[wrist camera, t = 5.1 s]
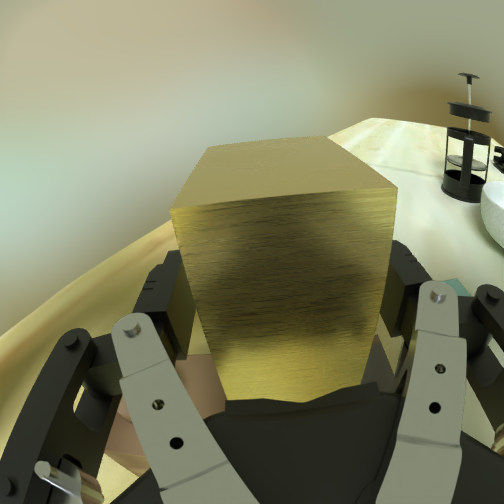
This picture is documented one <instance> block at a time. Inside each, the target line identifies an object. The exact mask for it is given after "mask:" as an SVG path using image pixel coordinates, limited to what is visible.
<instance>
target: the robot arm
mask: <svg viewBox="0 0 504 504" xmlns="http://www.w3.org/2000/svg"><path fill="white" fill-rule="evenodd" d="M145 282H146V283H145V284H144V286H143V288H142V291H141V293H140V295H139V297H138V300H137V302H136V304H135V307H134V309H133V312H132V314H129V315H126V316H124V317H122V318H121V319H119V320H118V321H117V322H116V323H115V325H114V326H113V328H112V332H111V333H110V334H106V335H103V336H99V337H95V338H92V337H91V336H90V334H89V333H88V331H87V330H85V329H82V328H76V329H72V330H70V331H68V332H66V333H65V334H64V335H63V336H62V337H61V338H60V339H59V340H58V342H57V344H56V345H55V347H54V349H53V351H52V352H51V354H50V356H49V358H48V359H47V361H46V363H45V365H44V367H43V368H42V370H41V372H40V374H39V376H38V378H37V380H36V382H35V383H34V385H33V387H32V389H31V391H30V393H29V395H28V397H27V399H26V401H25V403H24V406H23V408H22V410H21V412H20V414H19V416H18V418H17V421H16V423H15V425H14V428H13V430H12V432H11V435H10V437H9V439H8V442H7V444H6V447H5V449H4V452H3V455H2V457H1V460H0V504H103V502H104V496H103V494H102V491H101V487H100V484H99V483H98V481H97V480H96V478H97V475H98V471H99V468H100V464H101V461H102V457H103V454H104V451H105V447H106V444H107V441H108V437H109V434H110V431H111V428H112V425H113V422H114V419H115V416H116V413H117V410H118V407H119V404H120V401H121V398H122V395H123V396H124V399H125V402H126V405H127V408H128V411H129V414H130V417H131V420H132V422H133V425H134V428H135V431H136V433H137V436H138V438H139V441H140V443H141V446H142V448H143V451H144V453H145V456H146V458H147V460H148V462H149V465H150V468H149V469H148V470H147V471H146V472H145V473H143V474H142V475H141V476H140V477H139V478H138V479H137V480H136V481H135V482H134V483H133V484H131V485H130V486H129V487H128V488H127V489H126V490H125V491H124V492H123V493H121V494H120V495H119V496H118V497H117V498H116V499H114V500H113V501H112V502H111V503H110V504H504V368H503V367H502V366H501V364H500V363H499V361H498V359H497V358H496V356H495V355H494V353H493V352H492V351H491V349H490V348H489V346H488V344H489V342H490V340H491V339H492V337H493V338H494V339H495V340H496V342H497V343H498V345H499V346H500V348H501V349H502V350H503V352H504V292H503V291H502V290H501V289H499V288H498V287H496V286H493V285H488V284H485V285H481V286H479V287H478V288H477V291H476V293H475V296H474V297H471V296H457V293H456V292H455V290H454V289H453V288H452V287H451V286H449V285H448V284H446V283H444V282H441V281H434V280H432V278H431V277H430V276H429V274H428V273H427V272H426V270H425V269H424V268H423V267H422V265H421V264H420V263H419V262H417V259H416V258H415V257H414V255H412V253H411V252H410V250H409V249H408V248H407V247H406V246H405V245H403V244H402V243H400V242H398V241H397V240H392V246H391V252H390V259H389V265H388V271H387V277H386V282H385V287H384V293H383V298H382V302H381V307H380V312H379V313H380V315H381V317H382V319H383V321H384V323H385V325H386V327H387V330H388V332H389V334H390V336H391V338H392V337H396V336H401V335H402V337H403V339H404V340H403V343H402V346H401V351H400V355H399V360H398V364H397V369H396V373H395V377H394V381H393V385H392V388H391V391H390V392H385V391H379V388H378V385H377V382H376V381H375V382H370V383H366V384H361V385H356V386H351V387H345V388H341V389H338V390H336V391H333V392H331V393H328V394H326V395H323V396H321V397H318V398H316V399H313V400H310V401H307V402H291V401H282V400H274V399H266V398H258V399H243V400H225V411H222V412H218V413H216V414H213V415H210V416H208V417H206V418H204V419H202V418H201V416H200V414H199V413H198V411H197V409H196V407H195V406H194V404H193V402H192V400H191V399H190V397H189V395H188V393H187V391H186V389H185V388H184V386H183V384H182V382H181V380H180V378H179V376H178V374H177V372H176V370H175V369H174V368H175V363H176V360H187V354H188V348H189V343H190V337H191V332H192V326H193V321H194V316H195V310H196V305H195V302H194V299H193V295H192V292H191V289H190V285H189V282H188V278H187V275H186V271H185V268H184V264H183V260H182V257H181V253H180V250H174V251H169V252H168V253H167V256H166V258H165V261H164V263H163V264H160V265H157V266H156V267H155V268H154V269H153V270H152V271H151V272H150V273H149V275H148V277H147V279H146V281H145ZM466 378H467V380H468V382H469V383H470V385H471V387H472V389H473V391H474V392H475V394H476V396H477V398H478V400H479V402H480V403H481V405H482V407H483V409H484V411H485V413H486V415H487V417H488V419H489V421H490V423H491V425H492V427H493V429H494V431H495V438H494V442H495V443H494V444H493V445H492V447H491V449H490V448H489V447H487V446H486V445H484V444H482V443H481V442H479V441H477V440H476V439H474V438H473V437H471V436H469V435H468V434H466V433H464V432H463V431H461V426H462V418H463V409H464V399H465V386H466ZM81 385H82V386H83V387H84V388H85V389H84V392H83V394H82V396H81V399H80V401H79V403H78V406H77V408H76V411H75V413H74V410H73V404H74V401H75V399H76V396H77V394H78V392H79V389H80V387H81Z"/></svg>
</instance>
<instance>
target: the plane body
mask: <svg viewBox="0 0 504 504" xmlns="http://www.w3.org/2000/svg"><path fill="white" fill-rule="evenodd" d="M174 369H175V370H176V372H177V374H178V376H179V378H180V380H181V382H182V384H183V386H184V388H185V389H186V391H187V393H188V395H189V397H190V399H191V400H192V402H193V404H194V406H195V407H196V409H197V411H198V413H199V414H200V416H201V418H202V419H204V418H206V417H208V416H210V415H213V414H216V413H218V412H222V411H225V400H227V397H226V394H225V392H224V389H223V386H222V383H221V381H220V378H219V375H218V372H217V369H216V366H215V364H214V361H213V358H212V355H211V354H205V355H187V360H176V363H175V368H174ZM375 381H376V382H377V385H378V388H379V391H385V392H390V391H391V388H392V385H393V381H394V374H393V371H392V369H391V366H390V364H389V361H388V359H387V356H386V354H385V351H384V349H383V346H382V344H381V342H380V339H379V337H378V335H374V337H373V341H372V345H371V349H370V352H369V356H368V360H367V363H366V367H365V370H364V373H363V377H362V380H361V383H360V385H361V384H366V383H370V382H375ZM104 453H105V454H106V455H108V456H109V457H110V458H112V459H113V460H114V461H116V462H117V463H119V464H120V465H122V466H123V467H125V468H126V469H128V470H129V471H131V472H132V473H134V474H135V475H137V476H139V477H140V476H141V475H142V474H143V473H145V472H146V471H147V470H148V469H149V468H150V465H149V462H148V460H147V458H146V456H145V453H144V451H143V448H142V446H141V443H140V441H139V438H138V436H137V433H136V431H135V428H134V425H133V422H132V420H131V417H130V414H129V411H128V408H127V405H126V402H125V399H124V396H123V395H122V398H121V401H120V404H119V407H118V410H117V413H116V416H115V419H114V422H113V425H112V428H111V431H110V434H109V437H108V441H107V444H106V447H105V451H104Z"/></svg>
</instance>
